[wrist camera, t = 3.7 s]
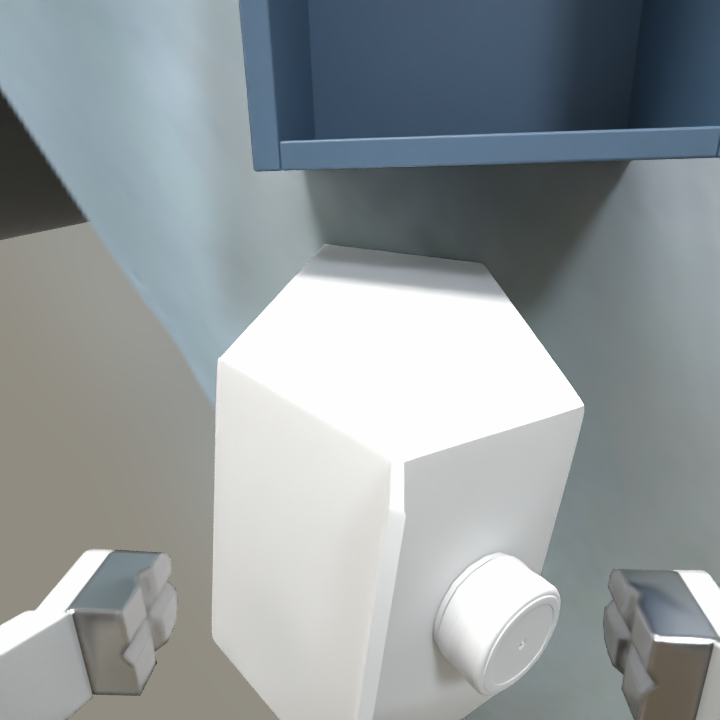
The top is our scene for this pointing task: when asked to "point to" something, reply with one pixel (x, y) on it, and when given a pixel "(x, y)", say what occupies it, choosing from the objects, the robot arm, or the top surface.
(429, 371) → the milk carton
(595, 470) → the top surface
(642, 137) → the tub
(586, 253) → the top surface
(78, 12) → the top surface
